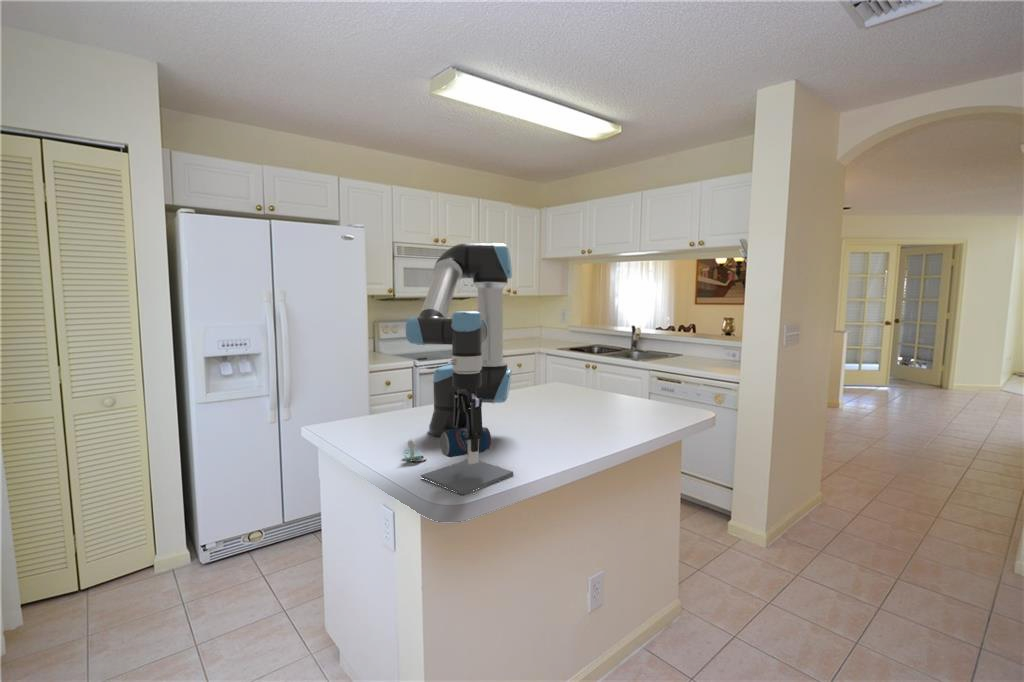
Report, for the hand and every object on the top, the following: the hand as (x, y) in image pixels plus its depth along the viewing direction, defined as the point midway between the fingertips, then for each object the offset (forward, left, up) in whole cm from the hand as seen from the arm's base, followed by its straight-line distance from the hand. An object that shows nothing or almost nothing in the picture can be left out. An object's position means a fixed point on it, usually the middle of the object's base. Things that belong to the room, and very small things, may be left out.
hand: (467, 458), depth 128 cm
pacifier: (-21, -1, -5) cm, 22 cm away
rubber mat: (0, 0, -5) cm, 5 cm away
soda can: (-2, -6, +5) cm, 8 cm away
